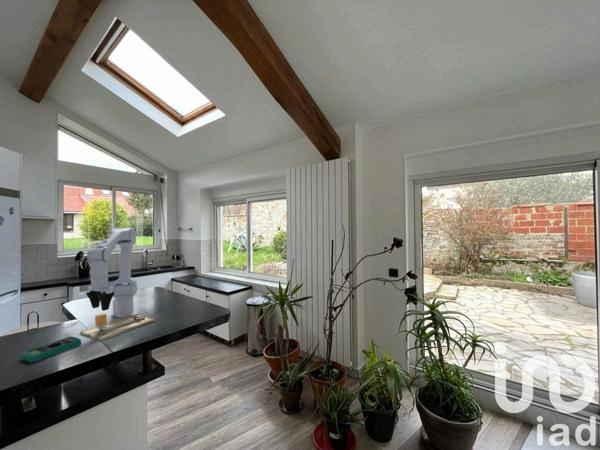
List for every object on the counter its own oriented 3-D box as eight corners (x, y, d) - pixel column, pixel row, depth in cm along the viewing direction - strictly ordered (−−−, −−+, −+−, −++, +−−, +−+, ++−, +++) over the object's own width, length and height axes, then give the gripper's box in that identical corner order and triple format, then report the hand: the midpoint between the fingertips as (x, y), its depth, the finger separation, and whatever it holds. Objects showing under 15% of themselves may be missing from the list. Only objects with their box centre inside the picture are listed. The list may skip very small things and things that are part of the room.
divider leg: (95, 331, 111) (94, 315, 111) (103, 328, 114) (103, 313, 114) (102, 333, 108) (102, 317, 108) (111, 330, 111) (110, 315, 111)
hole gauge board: (80, 333, 112) (80, 325, 112) (133, 316, 131) (133, 309, 131) (100, 340, 104) (100, 331, 104) (153, 321, 124) (153, 313, 124)
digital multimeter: (83, 345, 102) (82, 337, 102) (31, 364, 88) (31, 355, 88) (72, 342, 105) (72, 334, 105) (21, 360, 91) (20, 352, 91)
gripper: (79, 277, 111) (80, 309, 111) (97, 279, 104) (99, 314, 105) (98, 274, 117) (99, 304, 117) (117, 276, 111) (118, 308, 111)
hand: (100, 308), depth 111 cm, fingers open, 7 cm apart
